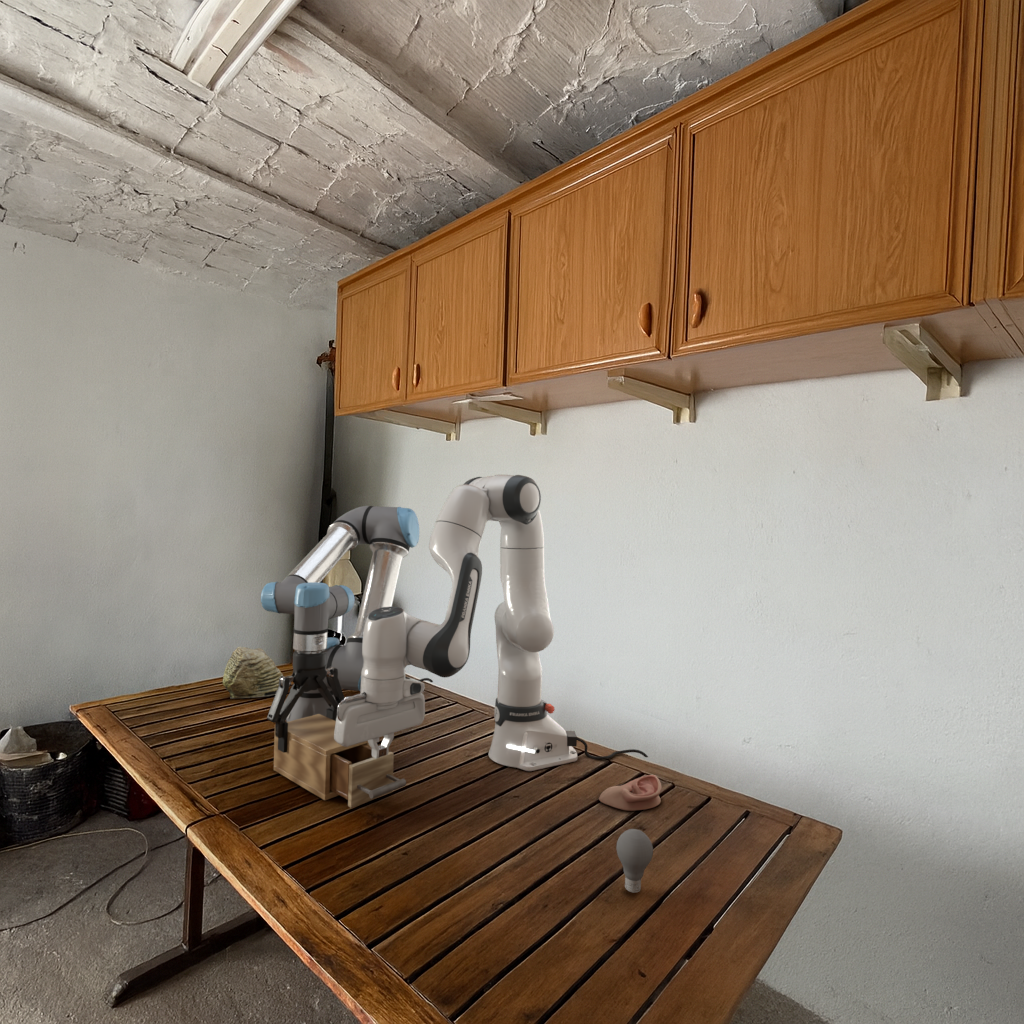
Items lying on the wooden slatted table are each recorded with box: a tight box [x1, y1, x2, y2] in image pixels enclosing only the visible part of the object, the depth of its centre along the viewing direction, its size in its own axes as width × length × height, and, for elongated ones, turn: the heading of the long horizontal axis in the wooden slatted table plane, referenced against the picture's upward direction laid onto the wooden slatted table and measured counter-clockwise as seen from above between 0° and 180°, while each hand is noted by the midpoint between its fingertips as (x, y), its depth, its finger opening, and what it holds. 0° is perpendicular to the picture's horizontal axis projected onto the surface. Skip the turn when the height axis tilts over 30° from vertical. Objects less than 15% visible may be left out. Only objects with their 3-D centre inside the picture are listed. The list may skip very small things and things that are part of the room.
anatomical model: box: [598, 774, 663, 812], centre depth 139 cm, size 13×4×12 cm
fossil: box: [222, 646, 284, 699], centre depth 198 cm, size 9×18×15 cm, turn 132°
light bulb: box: [615, 828, 654, 894], centre depth 106 cm, size 6×6×10 cm
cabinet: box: [273, 714, 371, 801], centre depth 143 cm, size 21×12×10 cm, turn 49°
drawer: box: [330, 744, 407, 809], centre depth 135 cm, size 26×10×8 cm, turn 49°
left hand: (306, 743), depth 147 cm, fingers closed on cabinet, 11 cm apart
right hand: (379, 756), depth 129 cm, fingers closed
